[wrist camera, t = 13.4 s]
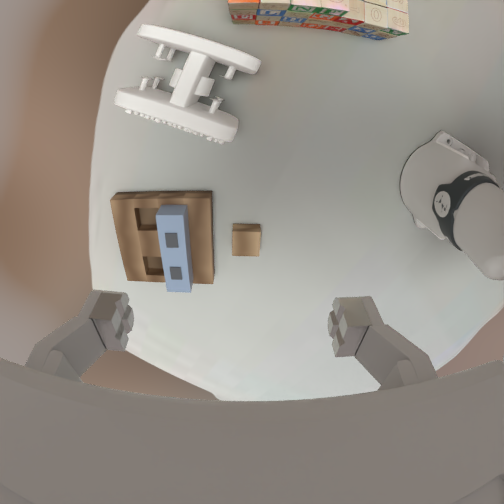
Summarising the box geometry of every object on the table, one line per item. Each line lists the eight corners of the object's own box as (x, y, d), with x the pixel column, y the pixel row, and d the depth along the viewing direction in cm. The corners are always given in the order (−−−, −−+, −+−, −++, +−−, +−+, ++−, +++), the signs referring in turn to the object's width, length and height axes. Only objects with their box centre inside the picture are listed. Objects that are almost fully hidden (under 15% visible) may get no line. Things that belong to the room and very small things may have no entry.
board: (212, 190, 44) (210, 198, 41) (214, 273, 53) (213, 283, 50) (117, 192, 43) (110, 199, 40) (132, 270, 52) (127, 280, 49)
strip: (189, 200, 43) (182, 216, 39) (194, 273, 51) (190, 293, 46) (164, 200, 43) (155, 216, 38) (172, 272, 51) (167, 292, 46)
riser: (259, 224, 47) (260, 232, 45) (258, 248, 50) (259, 256, 48) (232, 223, 47) (232, 231, 45) (232, 247, 50) (232, 255, 47)
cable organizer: (263, 67, 34) (271, 61, 24) (233, 131, 39) (229, 150, 29) (165, 34, 30) (137, 20, 20) (138, 99, 35) (104, 108, 25)
